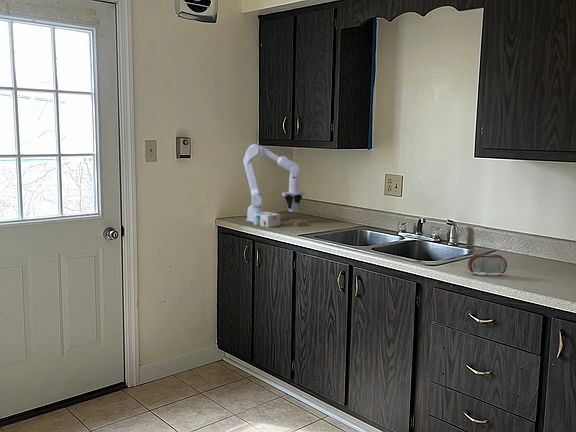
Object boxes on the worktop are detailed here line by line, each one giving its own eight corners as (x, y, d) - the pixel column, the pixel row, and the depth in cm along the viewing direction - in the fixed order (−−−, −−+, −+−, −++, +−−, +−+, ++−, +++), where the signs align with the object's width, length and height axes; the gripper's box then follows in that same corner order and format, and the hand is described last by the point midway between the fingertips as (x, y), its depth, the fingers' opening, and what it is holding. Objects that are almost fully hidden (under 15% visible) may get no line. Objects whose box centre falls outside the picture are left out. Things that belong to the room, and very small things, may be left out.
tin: (503, 274, 239) (505, 254, 238) (507, 276, 236) (509, 255, 235) (466, 273, 239) (468, 253, 237) (469, 275, 236) (471, 254, 234)
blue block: (288, 211, 346) (288, 202, 345) (293, 210, 348) (294, 202, 347) (292, 212, 342) (292, 203, 342) (297, 211, 345) (298, 203, 344)
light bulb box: (268, 215, 326) (253, 213, 333) (267, 228, 327) (253, 225, 334) (280, 213, 334) (266, 211, 341) (280, 225, 335) (266, 222, 342)
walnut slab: (289, 225, 340) (289, 220, 339) (299, 224, 344) (299, 219, 343) (296, 227, 334) (296, 221, 333) (306, 226, 338) (306, 221, 338)
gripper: (287, 185, 335) (286, 209, 338) (308, 184, 344) (307, 208, 346) (280, 184, 341) (279, 208, 343) (301, 183, 350) (300, 206, 352)
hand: (293, 208), depth 345 cm, fingers closed on blue block, 4 cm apart
